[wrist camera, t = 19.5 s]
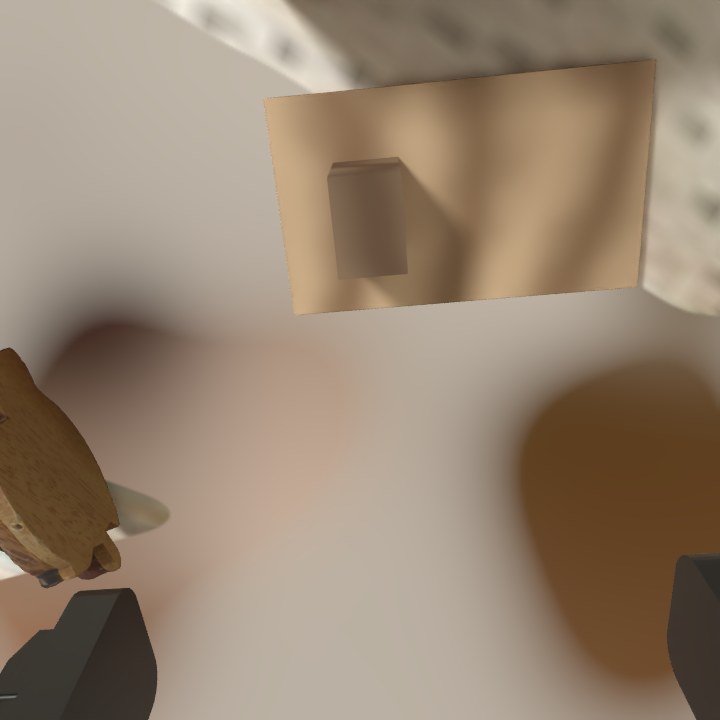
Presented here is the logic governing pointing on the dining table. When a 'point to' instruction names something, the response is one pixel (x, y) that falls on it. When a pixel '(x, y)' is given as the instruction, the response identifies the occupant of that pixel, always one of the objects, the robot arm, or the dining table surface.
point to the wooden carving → (49, 487)
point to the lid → (463, 187)
